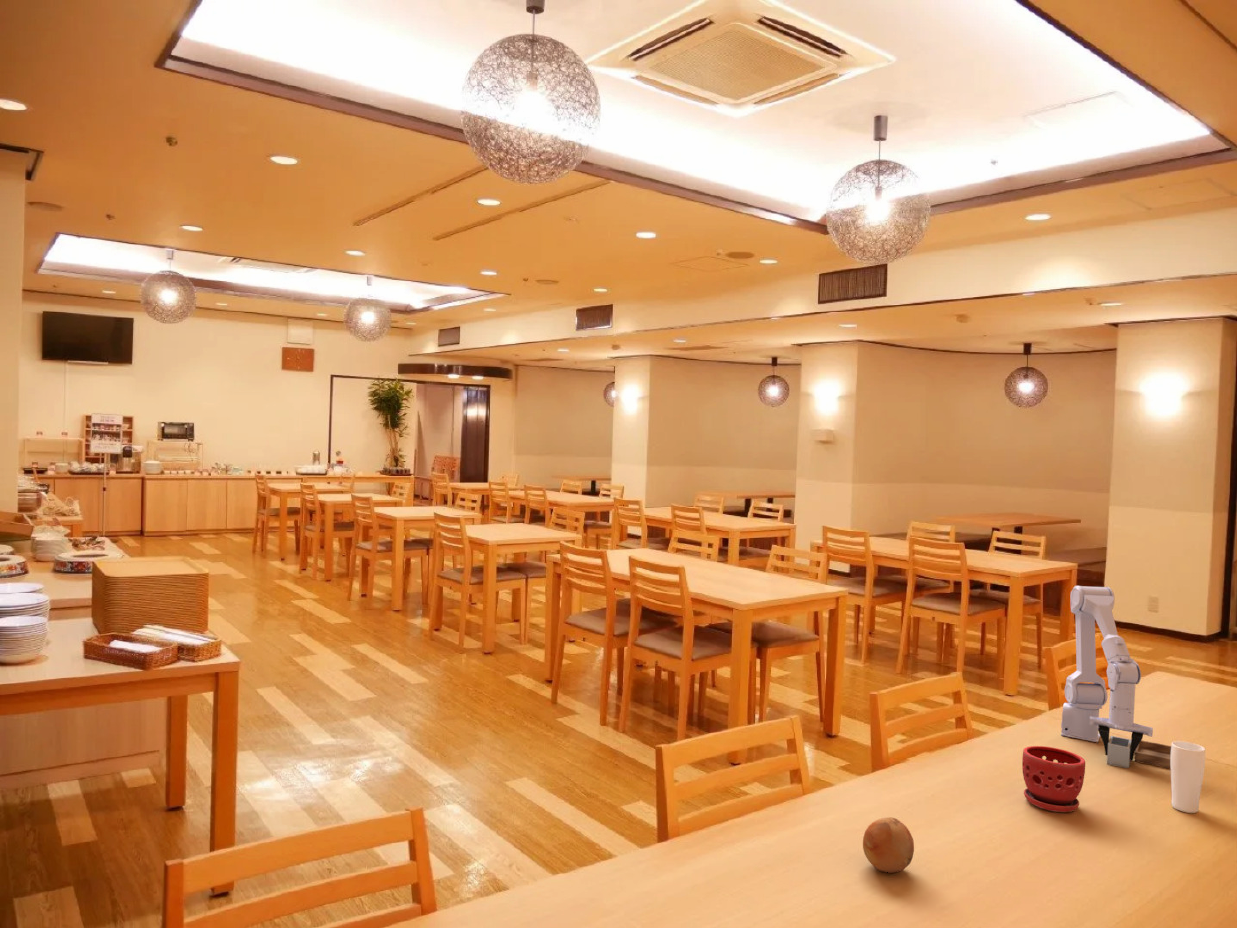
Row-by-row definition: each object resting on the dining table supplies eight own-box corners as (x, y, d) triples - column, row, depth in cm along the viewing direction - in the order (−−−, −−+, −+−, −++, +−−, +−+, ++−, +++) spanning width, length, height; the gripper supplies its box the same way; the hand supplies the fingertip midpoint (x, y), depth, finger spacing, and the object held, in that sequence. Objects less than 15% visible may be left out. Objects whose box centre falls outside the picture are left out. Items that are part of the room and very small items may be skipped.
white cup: (1191, 803, 204) (1195, 741, 203) (1208, 816, 197) (1212, 752, 197) (1161, 801, 205) (1165, 739, 204) (1177, 814, 198) (1180, 749, 197)
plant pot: (1091, 819, 194) (1093, 767, 193) (1028, 812, 196) (1031, 760, 196) (1072, 796, 206) (1075, 746, 206) (1014, 789, 209) (1016, 741, 209)
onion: (872, 851, 175) (874, 803, 175) (921, 868, 169) (923, 818, 168) (852, 869, 167) (854, 819, 167) (902, 887, 161) (904, 835, 161)
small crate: (1106, 764, 228) (1107, 743, 228) (1109, 755, 235) (1110, 735, 234) (1128, 768, 225) (1129, 747, 225) (1130, 759, 232) (1131, 739, 232)
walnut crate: (1134, 761, 231) (1134, 751, 231) (1137, 748, 241) (1137, 739, 241) (1175, 769, 226) (1175, 760, 226) (1176, 755, 236) (1176, 746, 236)
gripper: (1089, 704, 230) (1086, 754, 231) (1153, 715, 222) (1150, 767, 223) (1092, 698, 236) (1089, 747, 236) (1154, 709, 228) (1151, 759, 228)
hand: (1119, 756), depth 230 cm, fingers closed on small crate, 5 cm apart
